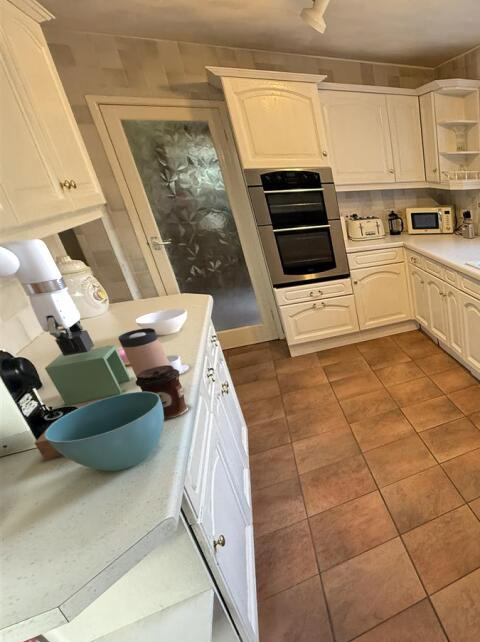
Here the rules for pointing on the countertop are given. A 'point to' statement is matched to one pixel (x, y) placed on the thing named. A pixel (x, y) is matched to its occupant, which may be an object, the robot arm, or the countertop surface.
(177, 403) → the coffee cup
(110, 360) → the high shelf
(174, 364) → the teacup
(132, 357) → the travel mug
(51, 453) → the low shelf
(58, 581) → the countertop surface
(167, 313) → the bowl
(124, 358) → the doughnut
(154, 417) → the blue dish
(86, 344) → the black block
